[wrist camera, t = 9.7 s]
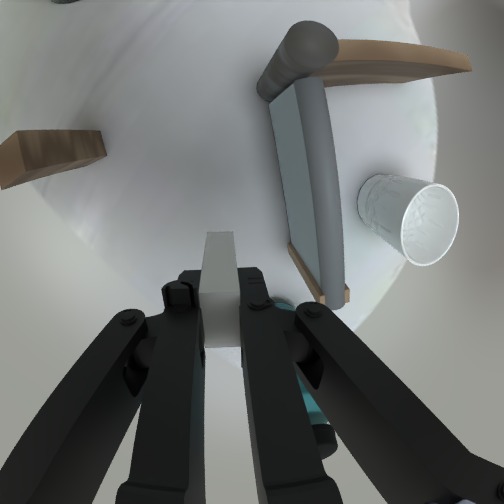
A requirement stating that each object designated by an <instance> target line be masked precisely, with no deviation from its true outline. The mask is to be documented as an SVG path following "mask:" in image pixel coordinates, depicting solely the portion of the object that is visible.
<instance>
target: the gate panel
mask: <svg viewBox="0 0 504 504" xmlns="http://www.w3.org/2000/svg"><path fill="white" fill-rule="evenodd" d="M269 109H270V115H271V120H272V125H273V131H274V136H275V142H276V148H277V153H278V159H279V165H280V171H281V177H282V184H283V190H284V196H285V203H286V210H287V216H288V223H289V231H290V238H291V243H289V244H288V250H289V255H290V256H291V258H292V260H293V262H294V263H295V265H296V267H297V269H298V270H299V272H300V274H301V276H302V277H303V279H304V281H305V283H306V284H307V286H308V288H309V290H310V292H311V293H312V295H313V297H314V299H315V301H316V302H318V303H321V304H324V305H325V306H327V307H328V308H329V309H330V310H337V309H340V308H342V307H343V306H344V305H345V303H348V302H349V298H350V289H349V288H348V286H347V285H346V284H345V270H344V244H343V227H342V213H341V201H340V190H339V180H338V171H337V163H336V155H335V148H334V141H333V134H332V128H331V122H330V116H329V110H328V105H327V99H326V94H325V89H324V84H323V80H322V78H320V77H309V78H302V79H298V80H295V81H294V83H293V84H292V85H291V86H289V87H288V88H287V89H286V90H285V91H284V92H282V93H281V94H280V95H279V96H278V97H277V98H275V99H274V100H273V101H272V102H271V103H270V104H269Z"/></svg>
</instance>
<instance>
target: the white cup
mask: <svg viewBox="0 0 504 504" xmlns="http://www.w3.org/2000/svg"><path fill="white" fill-rule="evenodd" d="M357 205H358V211H359V215H360V217H361V218H362V220H363V221H364V223H365V224H366V225H367V226H369V227H370V228H371V229H373V230H374V231H375V232H376V233H377V234H378V235H379V236H380V237H381V238H383V239H384V240H385V241H386V242H387V243H388V244H389V245H391V246H392V247H393V248H394V249H396V250H397V251H398V252H399V253H401V254H402V255H403V256H404V257H405V258H407V259H408V260H409V261H410V262H411V263H413V264H415V265H418V266H427V265H431V264H433V263H435V262H436V261H438V260H439V259H440V258H442V257H443V256H444V255H445V253H446V252H447V251H448V250H449V248H450V246H451V244H452V243H453V240H454V238H455V236H456V233H457V229H458V223H459V211H458V205H457V201H456V199H455V197H454V195H453V193H452V192H451V191H450V190H449V189H448V188H447V187H445V186H443V185H441V184H436V183H432V182H428V181H423V180H419V179H414V178H407V177H401V176H391V175H375V176H374V177H372V178H370V179H368V180H367V181H366V182H365V184H364V185H363V187H362V188H361V189H360V192H359V196H358V201H357Z"/></svg>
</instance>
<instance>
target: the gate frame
mask: <svg viewBox="0 0 504 504" xmlns="http://www.w3.org/2000/svg"><path fill="white" fill-rule="evenodd" d="M469 71H472V68H471V64H470V61H469V58H468V55H465V54H461V53H457V52H453V51H449V50H444V49H439V48H434V47H429V46H423V45H416V44H409V43H400V42H391V41H377V40H337V38H336V36H335V35H334V33H333V32H332V31H331V30H330V29H329V28H327V27H326V26H324V25H323V24H321V23H318V22H314V21H301V22H298V23H296V24H294V25H293V26H292V27H291V28H290V29H289V31H288V32H287V34H286V36H285V37H284V39H283V40H282V42H281V44H280V45H279V47H278V49H277V50H276V52H275V54H274V55H273V57H272V59H271V60H270V62H269V64H268V66H267V67H266V69H265V71H264V72H263V74H262V76H261V78H260V80H259V81H258V83H257V92H258V94H259V96H260V97H261V98H263V99H264V100H266V101H271V102H272V101H273V100H274V99H275V98H277V97H278V96H279V95H280V94H281V93H282V92H284V91H285V90H286V89H287V88H288V87H289V86H291V85H292V84H293V83H294V81H295V80H298V79H302V78H309V77H320V78H322V80H323V84H324V87H332V86H342V85H355V84H375V83H406V82H410V81H415V80H420V79H425V78H430V77H435V76H441V75H447V74H454V73H461V72H469ZM105 156H107V154H106V151H105V148H104V144H103V140H102V137H101V133H100V131H90V130H22V131H16V132H15V133H13V134H12V135H11V136H10V137H9V138H8V139H6V140H5V141H4V142H3V143H2V144H1V145H0V186H1V190H4V189H7V188H10V187H13V186H16V185H19V184H22V183H25V182H28V181H31V180H35V179H38V178H41V177H45V176H49V175H52V174H56V173H60V172H64V171H68V170H72V169H76V168H80V167H84V166H87V165H89V164H91V163H93V162H95V161H97V160H99V159H101V158H103V157H105Z"/></svg>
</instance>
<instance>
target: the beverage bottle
mask: <svg viewBox="0 0 504 504" xmlns="http://www.w3.org/2000/svg"><path fill="white" fill-rule="evenodd" d="M275 305H276V307H278V308H281V309H285V310H291V311H296V310H295V309H294V307H292V306H290V305H288V304H284V303H275ZM296 375H297V374H296ZM297 378H298V382H299V385H300V388H301V392H302V395H303V398H304V402H305V405H306V409H307V412H308V415H309V419H310V422H311V426H312V429H313V432H314V436H315V439H316V443H317V446H318V450H319V453H320V456H321V460H322V459H325V458H327V457H329V456H330V455H332V454H333V453H334V452H335V451H336V450H337V447H338V444H337V440H336V437H335V431H334V429H333V427H332V426H331V425H329V424H326V423H327V422H328V420H327V419H326V417H325V416H324V414H323V413H322V411H321V410H320V408H319V407H318V405H317V404H316V402H315V401H314V399H313V398H312V396H311V395H310V393H309V392H308V390H307V389H306V387H305V386H304V384H303V383H302V381H301V380H300V378H299V377H298V375H297Z"/></svg>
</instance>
